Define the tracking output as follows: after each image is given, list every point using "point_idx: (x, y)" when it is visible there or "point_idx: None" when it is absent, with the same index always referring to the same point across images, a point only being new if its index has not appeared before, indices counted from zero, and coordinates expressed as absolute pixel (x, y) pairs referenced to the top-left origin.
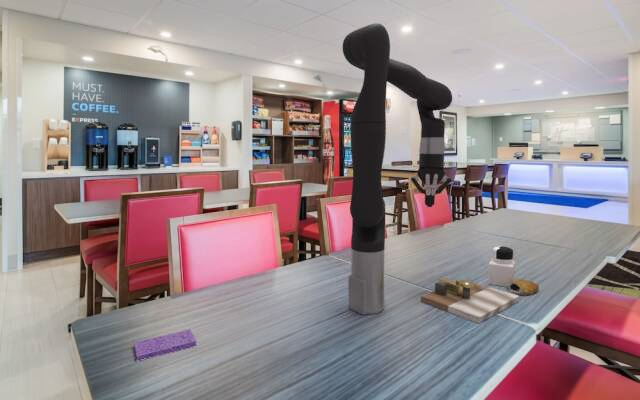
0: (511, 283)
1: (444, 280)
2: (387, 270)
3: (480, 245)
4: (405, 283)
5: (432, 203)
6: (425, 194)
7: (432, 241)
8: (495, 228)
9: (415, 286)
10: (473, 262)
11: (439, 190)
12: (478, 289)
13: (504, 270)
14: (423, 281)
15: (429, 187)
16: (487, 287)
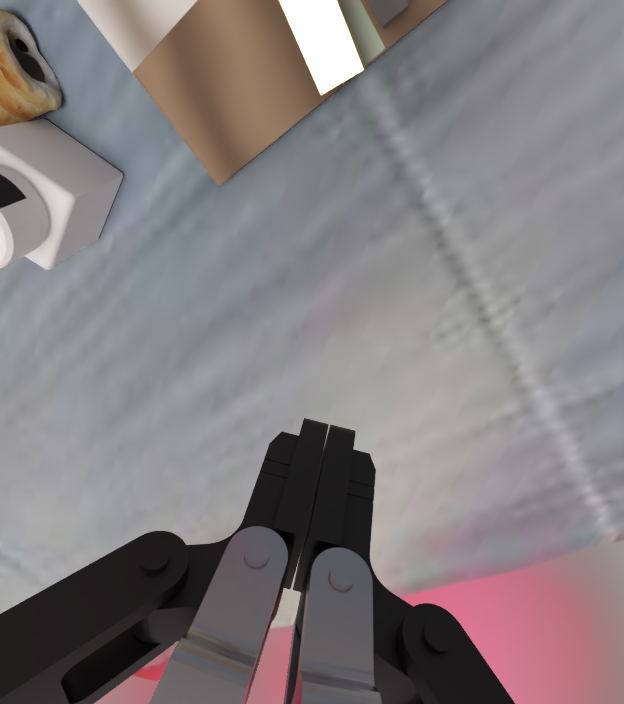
0: (29, 78)
1: (341, 47)
2: (466, 369)
3: (75, 513)
4: (460, 220)
5: (291, 449)
6: (370, 579)
7: None
8: (13, 606)
9: (432, 178)
10: (127, 391)
11: (140, 581)
12: (184, 45)
13: (24, 147)
14: (372, 234)
15: (308, 683)
16: (139, 72)
